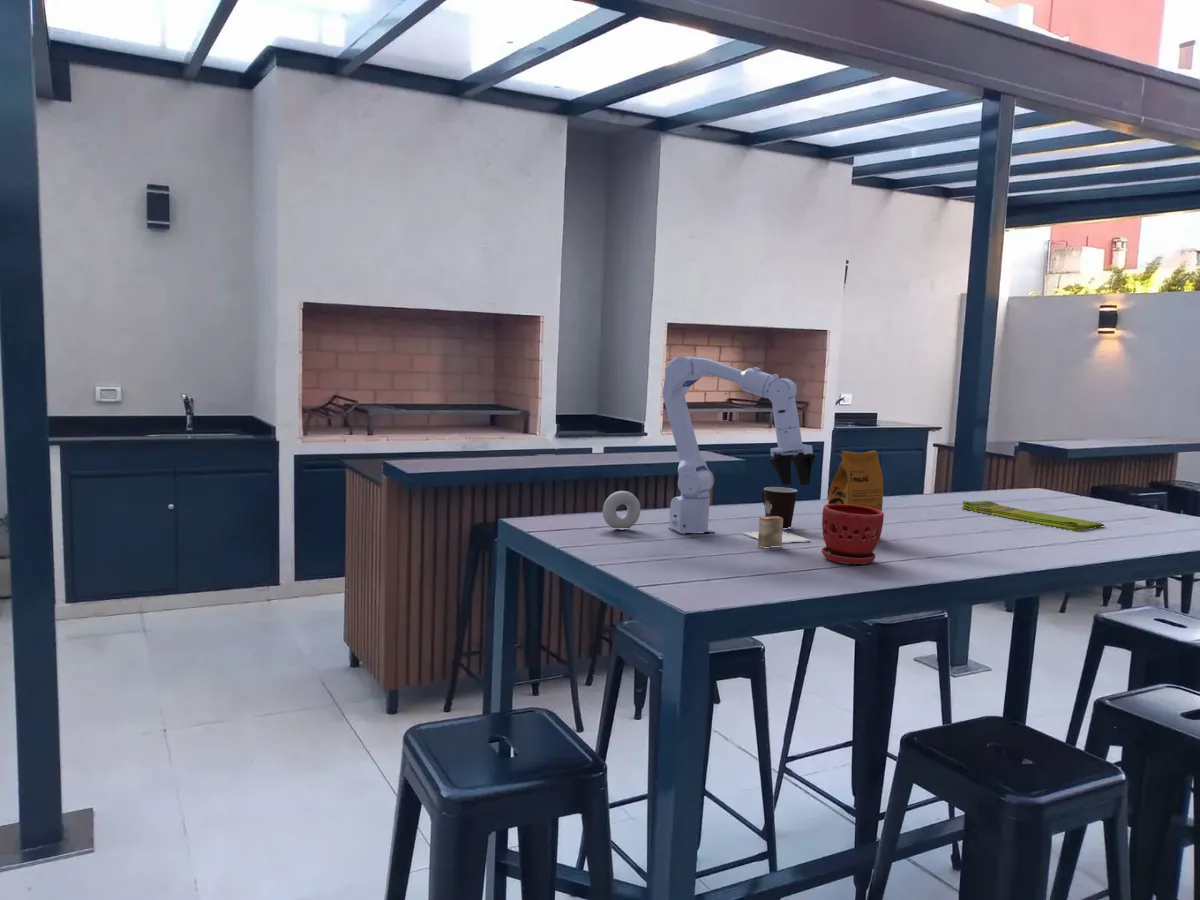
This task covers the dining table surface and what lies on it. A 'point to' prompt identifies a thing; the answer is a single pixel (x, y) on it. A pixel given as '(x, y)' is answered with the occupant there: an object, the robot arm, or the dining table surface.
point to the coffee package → (858, 481)
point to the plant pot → (851, 533)
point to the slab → (770, 531)
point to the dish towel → (1029, 516)
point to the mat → (785, 537)
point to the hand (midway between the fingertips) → (795, 484)
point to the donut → (614, 502)
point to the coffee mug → (780, 503)
